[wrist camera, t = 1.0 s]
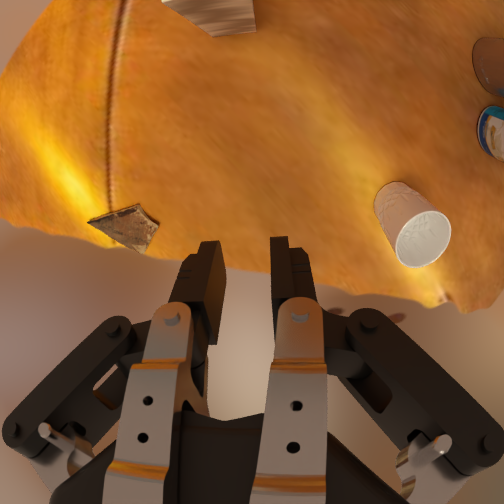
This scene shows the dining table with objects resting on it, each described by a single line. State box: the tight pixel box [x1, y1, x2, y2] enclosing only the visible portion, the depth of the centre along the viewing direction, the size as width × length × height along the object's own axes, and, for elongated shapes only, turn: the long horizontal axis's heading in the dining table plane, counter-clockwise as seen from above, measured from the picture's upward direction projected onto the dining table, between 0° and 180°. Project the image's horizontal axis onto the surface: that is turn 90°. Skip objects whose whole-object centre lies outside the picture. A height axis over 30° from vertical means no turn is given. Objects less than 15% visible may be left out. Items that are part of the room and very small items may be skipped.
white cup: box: [374, 182, 451, 268], centre depth 33 cm, size 8×8×10 cm
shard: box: [87, 204, 159, 254], centre depth 39 cm, size 11×8×2 cm
